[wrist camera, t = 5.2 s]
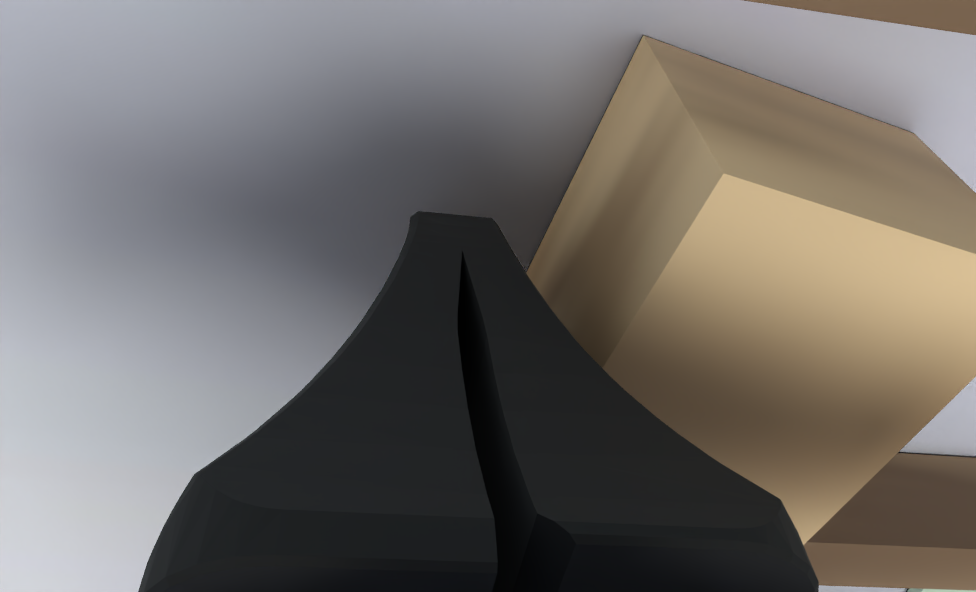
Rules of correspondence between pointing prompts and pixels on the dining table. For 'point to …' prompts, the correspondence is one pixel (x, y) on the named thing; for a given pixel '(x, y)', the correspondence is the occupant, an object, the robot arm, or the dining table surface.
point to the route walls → (906, 477)
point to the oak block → (766, 274)
